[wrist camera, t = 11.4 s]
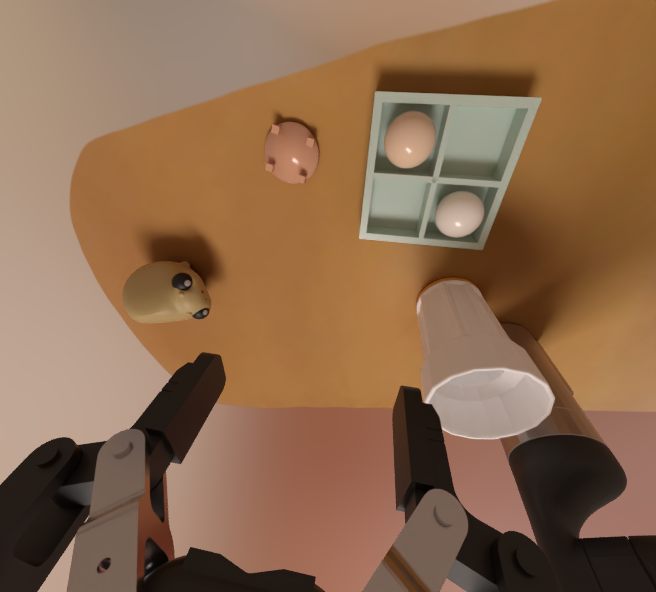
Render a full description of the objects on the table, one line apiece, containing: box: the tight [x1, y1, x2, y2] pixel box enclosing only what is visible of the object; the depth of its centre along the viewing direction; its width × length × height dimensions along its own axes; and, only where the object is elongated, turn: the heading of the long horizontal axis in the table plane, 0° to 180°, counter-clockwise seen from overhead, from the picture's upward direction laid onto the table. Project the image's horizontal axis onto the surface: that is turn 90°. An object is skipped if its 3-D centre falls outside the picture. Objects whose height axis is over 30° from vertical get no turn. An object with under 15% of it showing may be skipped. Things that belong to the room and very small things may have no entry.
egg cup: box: [265, 122, 319, 184], centre depth 32 cm, size 6×6×2 cm
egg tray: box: [359, 91, 542, 250], centre depth 30 cm, size 15×15×3 cm
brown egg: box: [384, 111, 436, 168], centre depth 27 cm, size 5×5×5 cm
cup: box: [416, 277, 555, 439], centre depth 33 cm, size 11×11×17 cm
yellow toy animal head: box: [123, 261, 211, 323], centre depth 41 cm, size 10×12×11 cm
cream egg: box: [434, 191, 484, 238], centre depth 30 cm, size 5×5×5 cm
